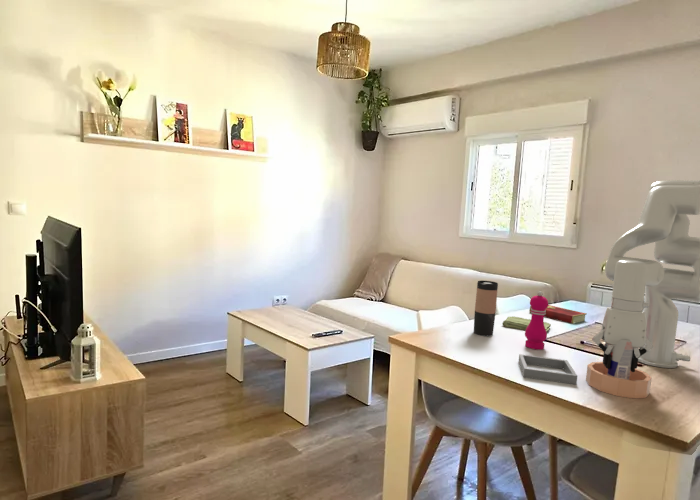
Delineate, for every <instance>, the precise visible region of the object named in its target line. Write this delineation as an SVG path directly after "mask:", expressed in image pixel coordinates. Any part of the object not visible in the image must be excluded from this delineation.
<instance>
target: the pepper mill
mask: <svg viewBox="0 0 700 500" xmlns="http://www.w3.org/2000/svg"><path fill="white" fill-rule="evenodd" d="M543 294H544V293H543V292H542V291H541V290H540V291H538V292H537V293H536V295H533V296H531V298H530V299H529V305H530V306H531V307H532V308H531V311H530V312H531V313H532V314H531V313H530V314H531V317H530V320H531V321H530V323H529V325H528V327H527V328H526V330H524V336H525V338H526V340H525V343H524V345H525V347H527V348H529V349H532V350H544V349H545V343H544V342H545V341H546V340H547V339H548V335H547V332H546V329H545V327H544V322H545V321H544V318H545V317H544V315H545V314H546V310H545V309H546V308H547V307H548V305H549V300H548V298H546V297H545V296H543Z"/></svg>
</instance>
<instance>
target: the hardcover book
mask: <svg viewBox="0 0 700 500" xmlns="http://www.w3.org/2000/svg"><path fill="white" fill-rule="evenodd" d="M531 308H532V307H531V305H530V306H529V314H531V312H530V311H531ZM545 310H546V314H545V315H544V318H547V319H548V318H549V319H552V320H556V321H559V322H564V323H568V324H575V323H576V324H577V323H582V322H585V321H586V316H587V313H585V312H582V311H576V310H573V309H567V308H563V307H560V306H555V305H550V304H548V307H547V308H546V309H545Z"/></svg>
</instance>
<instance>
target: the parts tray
mask: <svg viewBox="0 0 700 500" xmlns="http://www.w3.org/2000/svg"><path fill="white" fill-rule="evenodd" d="M518 364H519V367H520V370H521V375H522V377H523V378H528V379H533V380H534V379H535V380H541V381H549V382H557V383H562V384H570V385H577V382H578V375H577V373H576V372H575V370H574V369H573V366H572V365H571V364H570V363H569V361H568V360H567V359H561V358H559V359H558V358H552V357H545V356H537V355H530V354H529V355H528V354H521V353H518ZM528 365H533V366H540V367H547V368H548V367H549V368H555V369H556V368H557V369H563V371H564V372H560V371H559V372H558V371H552V370H544V369H538V368H530V367H528Z"/></svg>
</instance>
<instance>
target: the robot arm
mask: <svg viewBox="0 0 700 500" xmlns="http://www.w3.org/2000/svg"><path fill="white" fill-rule="evenodd" d="M648 189H649V191H648V193H647V195H646V199H645V202H644V205H643V208H642V210H641V213H640V216H639V219H638V222H637V225H636V226H635V227H634V228H633V227H632V228H631V229H630V230H628V231H626V232H625V233H624V234H623V235H621V236H620V237H619V238H618V239H616V241H615V242H614V243H613V244H612V245H611V246H612V247H611V249H610V251H609V254H608V256H607V260H606V263H605V266H604V272H605V273H604V274H605V276H606V278H607V279H608V280H610V281H612V282H613V285H612V291H611V292H612V293H611V302H610V306H607V307H606V310H605V313H604V317H603V321H602V324H601V329H600V331H599V332H598V333H597V334H595V335H594V336H593V337H592V338H591V339H592V341H593V342H594V343H595V344H596V345H597V346H598V347H599V349H601V350H602V351H603V356H602V362H603V364H604V366H605V367H606V368H607V369H609V368H610V365H611V355H610V352H611V350H612V348H613V346H614V345H617V344H618V341H620V340H621V339H625V340H630V341H631V343H632V347H633V353H632V362H631V371H632V372H635V368H636V369H638V363H642V364H644V365H647V366H652V367H657V368H662V369H663V368H664V369H674V368H677V367H678V365H679V363H678V362H679V361H682V362H690V361H691V356H690V355H688V354H687V355H686V354H683V353H679V352H676V351H675V344H676V338H677V337H676V335H677V328H678V321H679V309H678V308H677V306H676V304H675V303H674V302H673V300H680V301H687V302H692V303H700V236H699V237H698V236H689V230H690V225H691V224H690V223H691V222H690V221H691V220H690V218H689V217H688V215H690V216H693V215H694V216H699V215H700V180H680V179H679V180H676V179H675V180H673V179H671V180H670V179H669V180H659V181H658V180H657V181H656V182H653V183H652V184H650V187H649V188H648ZM653 243H654V250H653V257H654V259H655V260H653V259H648V258H647V259H645V258H637V257H630V256H625V255H626V253H628V252H629V251H631V250H632V249H635V248H638V247H640V246H645V245H648V244H653ZM662 264H665V265H673V266H682V267H688V268H689V267H690V268H692V269H693V271H692V270H683V269H676V268H669V267H667V268H666V267H664V266H663V265H662ZM601 340H603V341H604V344H603V343H602V341H601Z"/></svg>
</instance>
